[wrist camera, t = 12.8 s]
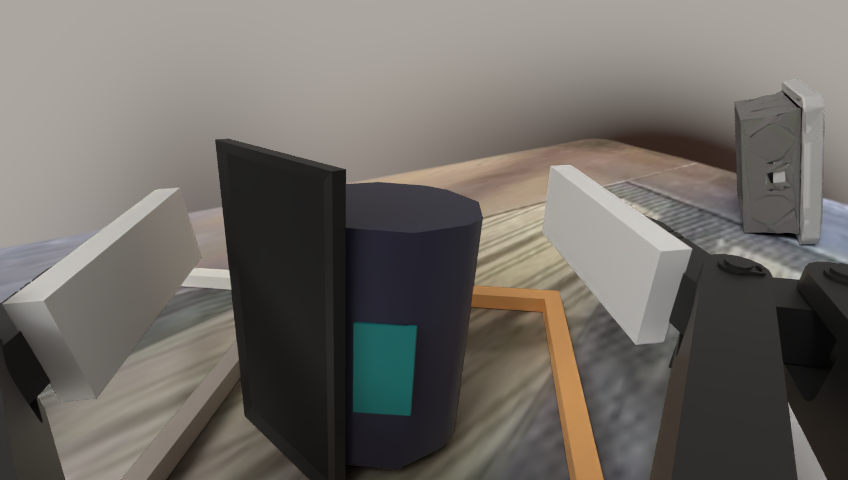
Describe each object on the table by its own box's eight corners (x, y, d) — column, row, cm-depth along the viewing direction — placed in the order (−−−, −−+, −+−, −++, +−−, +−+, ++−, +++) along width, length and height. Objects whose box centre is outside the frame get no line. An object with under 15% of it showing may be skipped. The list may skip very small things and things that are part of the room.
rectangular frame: (-324, 516, 13) (-347, 500, 13) (84, 271, 26) (78, 260, 25) (646, 713, 9) (655, 698, 8) (557, 303, 22) (559, 291, 21)
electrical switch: (818, 252, 26) (868, 94, 22) (717, 241, 28) (746, 99, 25) (794, 202, 33) (828, 76, 29) (715, 197, 35) (737, 81, 32)
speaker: (278, 557, 11) (222, 185, 7) (244, 414, 16) (199, 139, 12) (494, 445, 15) (533, 157, 11) (416, 356, 20) (424, 130, 16)
